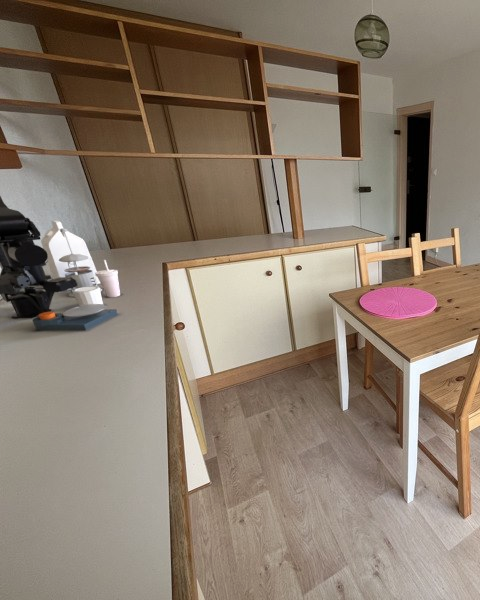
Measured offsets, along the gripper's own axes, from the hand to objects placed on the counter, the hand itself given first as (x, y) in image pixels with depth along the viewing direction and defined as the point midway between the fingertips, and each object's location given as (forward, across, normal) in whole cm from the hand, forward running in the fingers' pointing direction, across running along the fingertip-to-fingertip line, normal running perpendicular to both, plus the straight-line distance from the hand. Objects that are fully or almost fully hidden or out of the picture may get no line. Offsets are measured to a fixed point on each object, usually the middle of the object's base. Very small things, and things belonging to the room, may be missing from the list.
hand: (45, 311), depth 93 cm
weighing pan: (+2, +6, +5) cm, 8 cm away
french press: (+6, -18, +32) cm, 37 cm away
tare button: (+2, 0, 0) cm, 2 cm away
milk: (+6, -29, +42) cm, 51 cm away
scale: (+5, +4, +4) cm, 8 cm away
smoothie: (+6, -4, +28) cm, 29 cm away
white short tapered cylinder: (+6, -2, +16) cm, 17 cm away
